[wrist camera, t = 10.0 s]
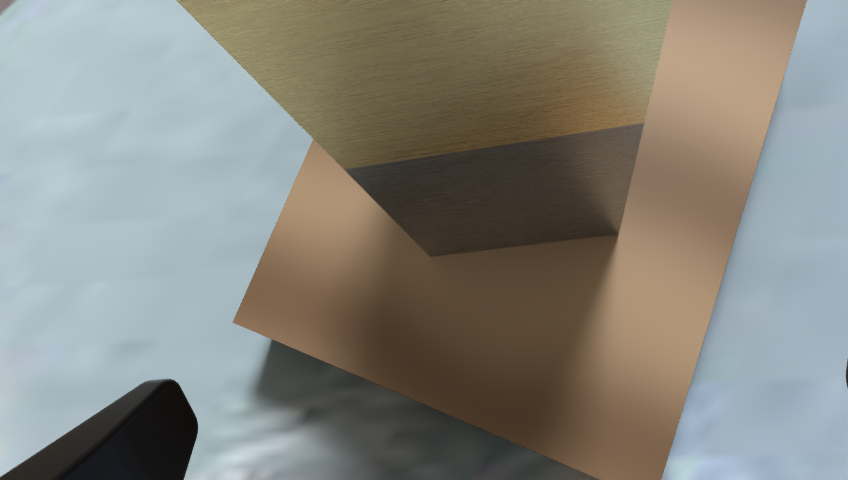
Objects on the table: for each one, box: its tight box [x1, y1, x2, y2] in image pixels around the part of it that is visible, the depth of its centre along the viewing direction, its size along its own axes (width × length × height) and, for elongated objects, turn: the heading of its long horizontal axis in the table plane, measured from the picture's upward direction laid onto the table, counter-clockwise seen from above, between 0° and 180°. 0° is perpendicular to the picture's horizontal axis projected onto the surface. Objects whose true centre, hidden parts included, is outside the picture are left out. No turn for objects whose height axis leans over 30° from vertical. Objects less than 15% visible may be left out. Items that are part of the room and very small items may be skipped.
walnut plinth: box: [233, 0, 807, 480], centre depth 18 cm, size 14×12×2 cm
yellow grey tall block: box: [177, 0, 673, 257], centre depth 11 cm, size 5×5×13 cm
